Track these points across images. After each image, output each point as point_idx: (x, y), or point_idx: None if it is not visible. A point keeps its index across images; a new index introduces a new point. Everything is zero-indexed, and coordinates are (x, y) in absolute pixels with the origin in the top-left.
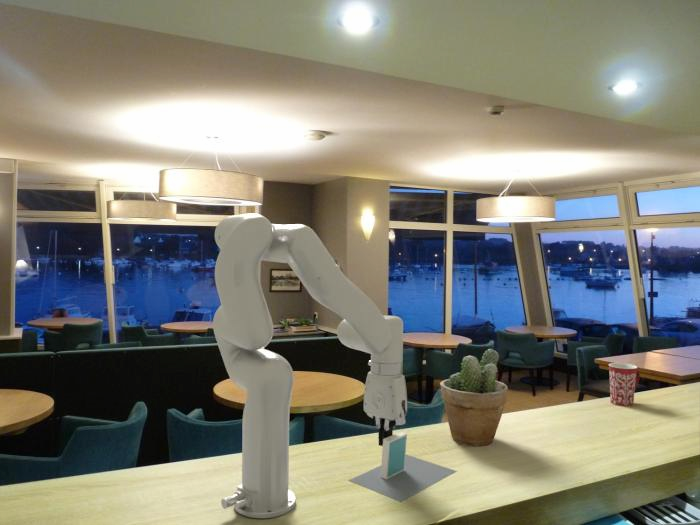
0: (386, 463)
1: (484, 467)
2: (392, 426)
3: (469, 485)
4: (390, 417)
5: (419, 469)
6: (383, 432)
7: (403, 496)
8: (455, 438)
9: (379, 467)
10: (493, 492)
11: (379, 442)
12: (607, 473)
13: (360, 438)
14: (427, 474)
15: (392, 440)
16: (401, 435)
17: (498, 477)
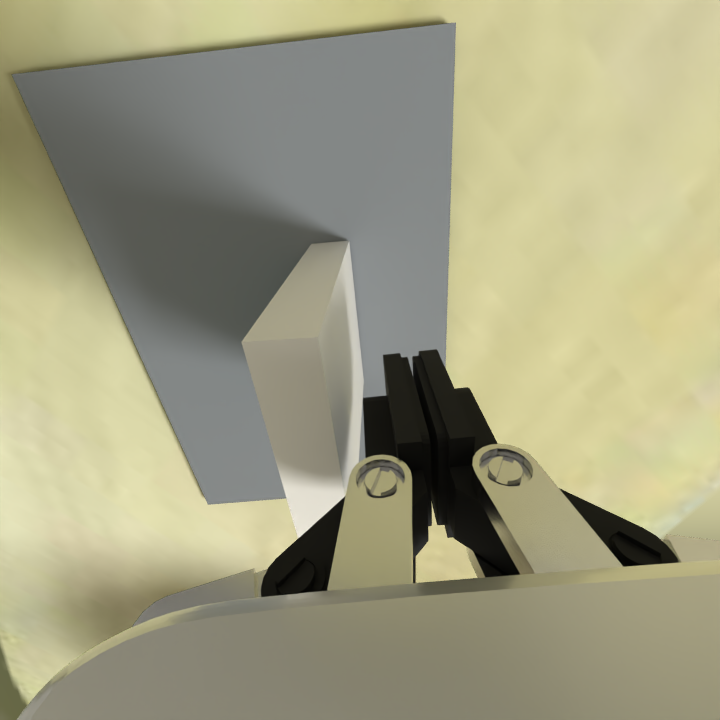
0: (299, 268)
1: (199, 569)
2: (307, 532)
3: (96, 462)
4: (148, 678)
5: None
6: (400, 426)
7: (76, 150)
8: None
9: (437, 322)
10: (12, 476)
11: (432, 360)
12: (32, 685)
13: (699, 474)
14: (242, 420)
15: (261, 393)
16: (296, 505)
17: (115, 551)
